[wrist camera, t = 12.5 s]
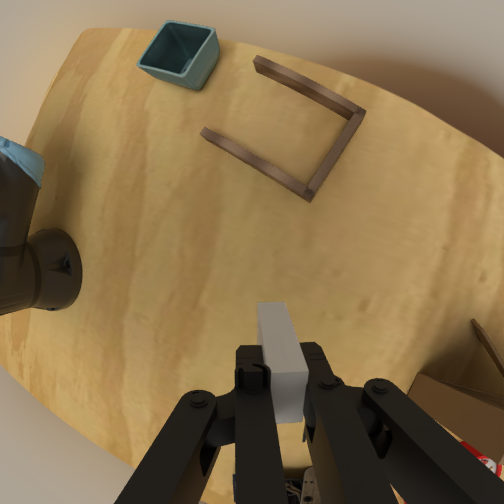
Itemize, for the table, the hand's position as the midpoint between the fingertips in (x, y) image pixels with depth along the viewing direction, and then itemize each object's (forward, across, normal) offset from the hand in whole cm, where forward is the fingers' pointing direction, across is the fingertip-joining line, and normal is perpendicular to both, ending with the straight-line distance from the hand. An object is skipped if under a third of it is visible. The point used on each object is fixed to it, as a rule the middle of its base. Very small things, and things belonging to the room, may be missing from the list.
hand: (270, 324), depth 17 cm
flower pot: (+33, +9, -25) cm, 43 cm away
